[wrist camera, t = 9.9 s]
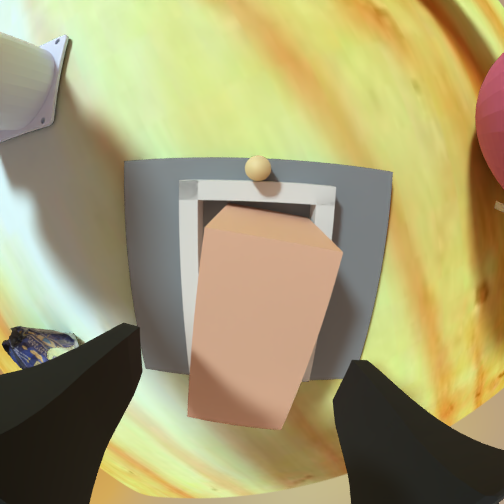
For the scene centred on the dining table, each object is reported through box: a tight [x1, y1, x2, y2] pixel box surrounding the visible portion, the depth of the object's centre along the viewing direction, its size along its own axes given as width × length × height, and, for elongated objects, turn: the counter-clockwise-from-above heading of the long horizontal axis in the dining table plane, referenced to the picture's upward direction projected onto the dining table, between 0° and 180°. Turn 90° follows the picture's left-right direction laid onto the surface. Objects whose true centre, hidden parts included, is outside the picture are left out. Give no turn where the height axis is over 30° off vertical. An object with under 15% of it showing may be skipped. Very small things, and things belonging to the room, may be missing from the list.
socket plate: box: [124, 156, 393, 382], centre depth 16 cm, size 16×15×4 cm
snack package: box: [2, 326, 79, 369], centre depth 19 cm, size 12×7×12 cm
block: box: [187, 203, 343, 430], centre depth 13 cm, size 9×4×7 cm, turn 170°
